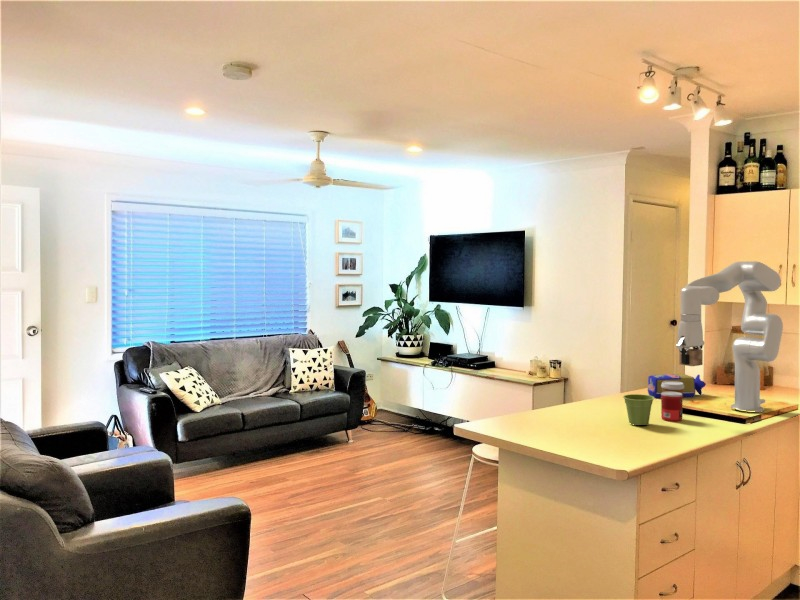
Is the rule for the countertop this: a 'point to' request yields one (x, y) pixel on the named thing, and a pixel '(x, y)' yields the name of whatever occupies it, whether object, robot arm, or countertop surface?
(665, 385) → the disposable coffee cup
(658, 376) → the bread
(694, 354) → the walnut block
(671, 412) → the canned food
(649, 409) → the plant pot
